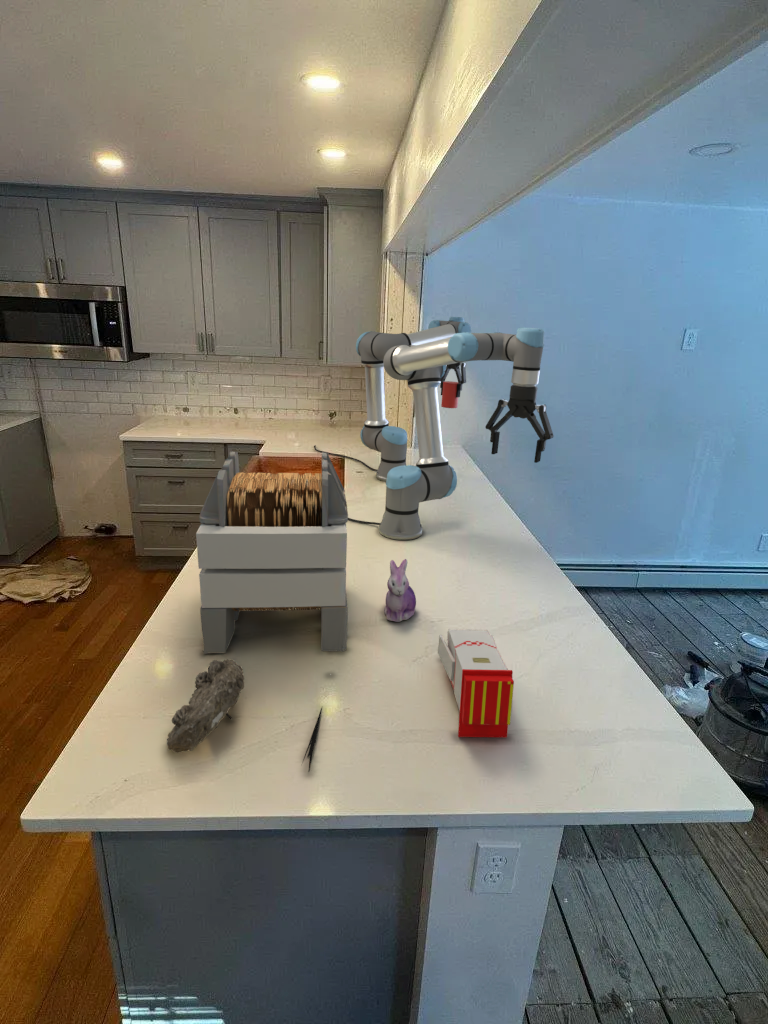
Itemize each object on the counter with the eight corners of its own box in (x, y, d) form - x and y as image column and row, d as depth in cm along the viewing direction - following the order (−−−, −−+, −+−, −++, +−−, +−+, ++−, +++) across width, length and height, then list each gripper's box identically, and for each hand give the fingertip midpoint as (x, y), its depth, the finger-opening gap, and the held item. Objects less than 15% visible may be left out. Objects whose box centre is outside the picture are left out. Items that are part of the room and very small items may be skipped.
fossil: (192, 660, 117) (244, 628, 112) (224, 691, 120) (276, 661, 115) (142, 746, 98) (202, 712, 93) (182, 779, 101) (242, 748, 96)
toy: (488, 613, 130) (523, 677, 101) (484, 667, 133) (517, 744, 104) (435, 612, 130) (455, 676, 101) (432, 666, 133) (451, 743, 103)
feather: (331, 679, 122) (336, 673, 122) (307, 777, 96) (313, 769, 95) (324, 675, 122) (329, 669, 121) (298, 772, 95) (304, 764, 95)
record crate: (224, 585, 158) (215, 442, 144) (341, 584, 162) (344, 444, 148) (200, 656, 126) (187, 481, 112) (347, 652, 130) (351, 482, 116)
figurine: (392, 627, 141) (395, 572, 136) (374, 608, 149) (376, 556, 144) (425, 619, 145) (429, 566, 140) (405, 601, 154) (408, 550, 149)
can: (444, 408, 285) (446, 383, 281) (439, 405, 293) (441, 381, 289) (459, 408, 287) (461, 383, 283) (454, 405, 295) (456, 381, 290)
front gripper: (572, 388, 157) (560, 462, 164) (490, 379, 171) (483, 448, 178) (562, 391, 151) (551, 467, 159) (478, 381, 165) (471, 452, 172)
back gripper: (476, 351, 277) (472, 398, 285) (440, 348, 289) (436, 392, 297) (469, 351, 272) (464, 399, 279) (432, 348, 284) (428, 394, 291)
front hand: (515, 457), depth 168 cm, fingers open, 13 cm apart
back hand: (450, 396), depth 288 cm, fingers closed on can, 8 cm apart
